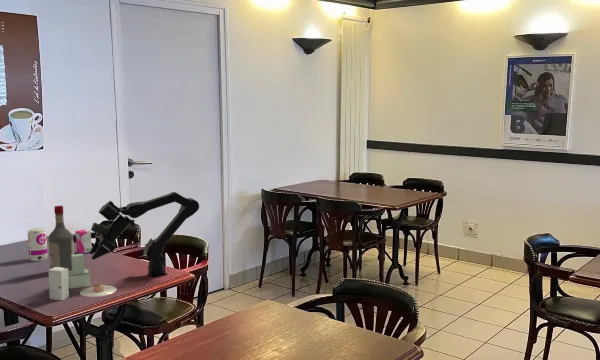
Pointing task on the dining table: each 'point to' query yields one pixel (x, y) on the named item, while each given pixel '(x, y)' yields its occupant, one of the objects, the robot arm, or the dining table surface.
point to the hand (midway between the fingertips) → (91, 256)
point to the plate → (89, 292)
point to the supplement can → (37, 244)
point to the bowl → (98, 288)
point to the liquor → (60, 243)
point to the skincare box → (58, 283)
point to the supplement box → (83, 241)
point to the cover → (78, 273)
